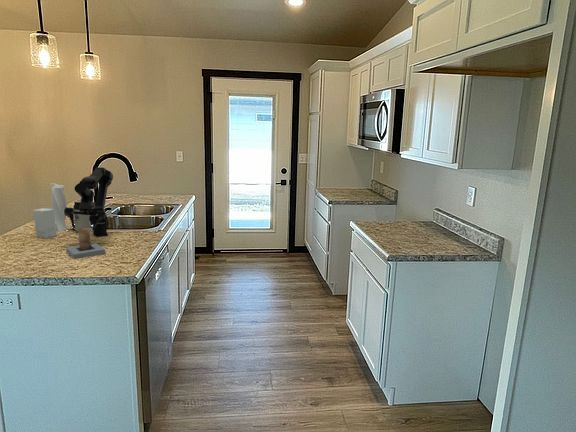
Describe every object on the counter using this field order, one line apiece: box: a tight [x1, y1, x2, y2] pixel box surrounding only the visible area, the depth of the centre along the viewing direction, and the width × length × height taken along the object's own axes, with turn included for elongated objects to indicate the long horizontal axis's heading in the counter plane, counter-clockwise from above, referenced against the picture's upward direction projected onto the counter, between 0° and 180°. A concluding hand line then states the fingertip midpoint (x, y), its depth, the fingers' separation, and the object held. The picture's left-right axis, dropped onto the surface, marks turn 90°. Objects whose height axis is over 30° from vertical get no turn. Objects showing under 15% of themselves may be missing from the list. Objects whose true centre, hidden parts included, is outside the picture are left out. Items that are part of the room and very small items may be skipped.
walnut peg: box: [77, 227, 92, 251], centre depth 198 cm, size 5×5×12 cm
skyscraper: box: [49, 183, 69, 232], centre depth 238 cm, size 8×8×28 cm
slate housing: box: [65, 242, 106, 260], centre depth 198 cm, size 14×14×2 cm
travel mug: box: [72, 199, 91, 232], centre depth 239 cm, size 8×8×18 cm
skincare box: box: [32, 207, 58, 239], centre depth 223 cm, size 8×7×16 cm
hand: (83, 229), depth 206 cm, fingers open, 9 cm apart
